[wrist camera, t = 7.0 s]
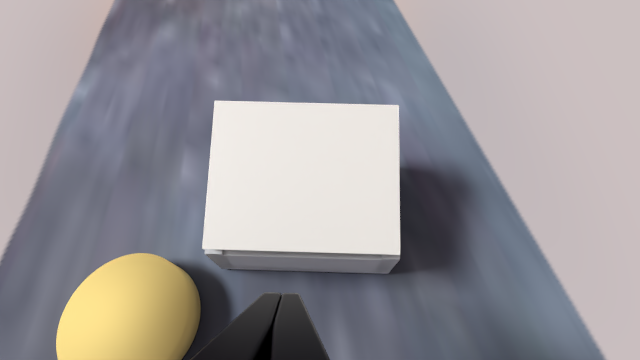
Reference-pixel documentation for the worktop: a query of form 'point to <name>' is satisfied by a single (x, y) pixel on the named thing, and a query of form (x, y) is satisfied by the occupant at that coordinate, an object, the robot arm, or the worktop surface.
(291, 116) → the lid
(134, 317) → the yellow rounded disc
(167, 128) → the worktop surface
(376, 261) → the grey frame
